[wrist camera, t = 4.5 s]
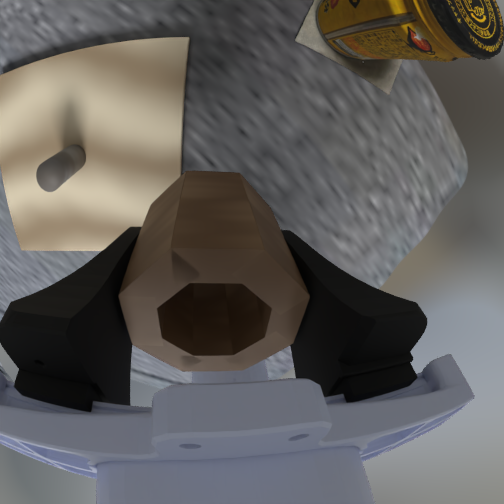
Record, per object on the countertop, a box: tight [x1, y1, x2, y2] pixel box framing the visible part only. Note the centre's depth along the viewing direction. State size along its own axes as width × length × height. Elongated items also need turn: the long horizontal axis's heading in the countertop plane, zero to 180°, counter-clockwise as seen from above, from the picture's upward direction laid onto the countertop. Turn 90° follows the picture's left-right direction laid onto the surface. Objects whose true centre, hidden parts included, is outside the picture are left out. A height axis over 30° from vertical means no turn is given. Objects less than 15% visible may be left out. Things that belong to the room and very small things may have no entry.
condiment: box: [295, 0, 504, 95], centre depth 9 cm, size 7×8×12 cm
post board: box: [0, 37, 190, 251], centre depth 15 cm, size 16×16×5 cm
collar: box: [118, 171, 310, 372], centre depth 11 cm, size 6×6×6 cm
